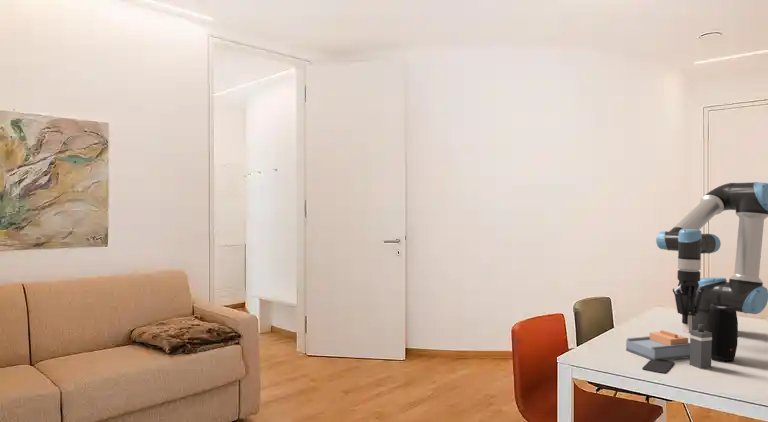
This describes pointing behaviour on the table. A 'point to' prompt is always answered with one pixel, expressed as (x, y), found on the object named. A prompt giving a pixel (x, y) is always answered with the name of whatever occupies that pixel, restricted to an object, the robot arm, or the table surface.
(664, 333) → the panel
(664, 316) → the table surface
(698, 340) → the grey bottle-shaped block
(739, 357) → the table surface
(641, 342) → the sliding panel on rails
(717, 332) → the portable speaker
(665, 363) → the phone
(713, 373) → the table surface
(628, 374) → the table surface
